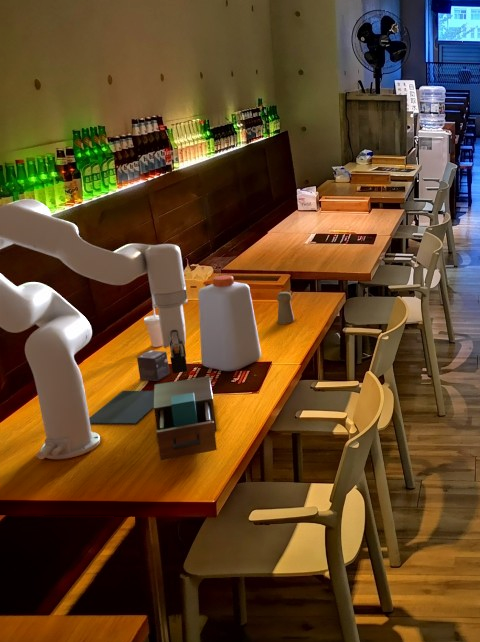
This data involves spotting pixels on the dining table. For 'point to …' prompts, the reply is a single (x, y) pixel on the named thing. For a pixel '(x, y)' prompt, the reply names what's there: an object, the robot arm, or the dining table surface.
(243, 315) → the plastic bottle
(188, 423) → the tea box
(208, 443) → the drawer
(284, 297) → the pepper shaker
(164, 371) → the box
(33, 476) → the dining table surface
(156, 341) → the smoothie
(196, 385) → the cabinet
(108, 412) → the mat
